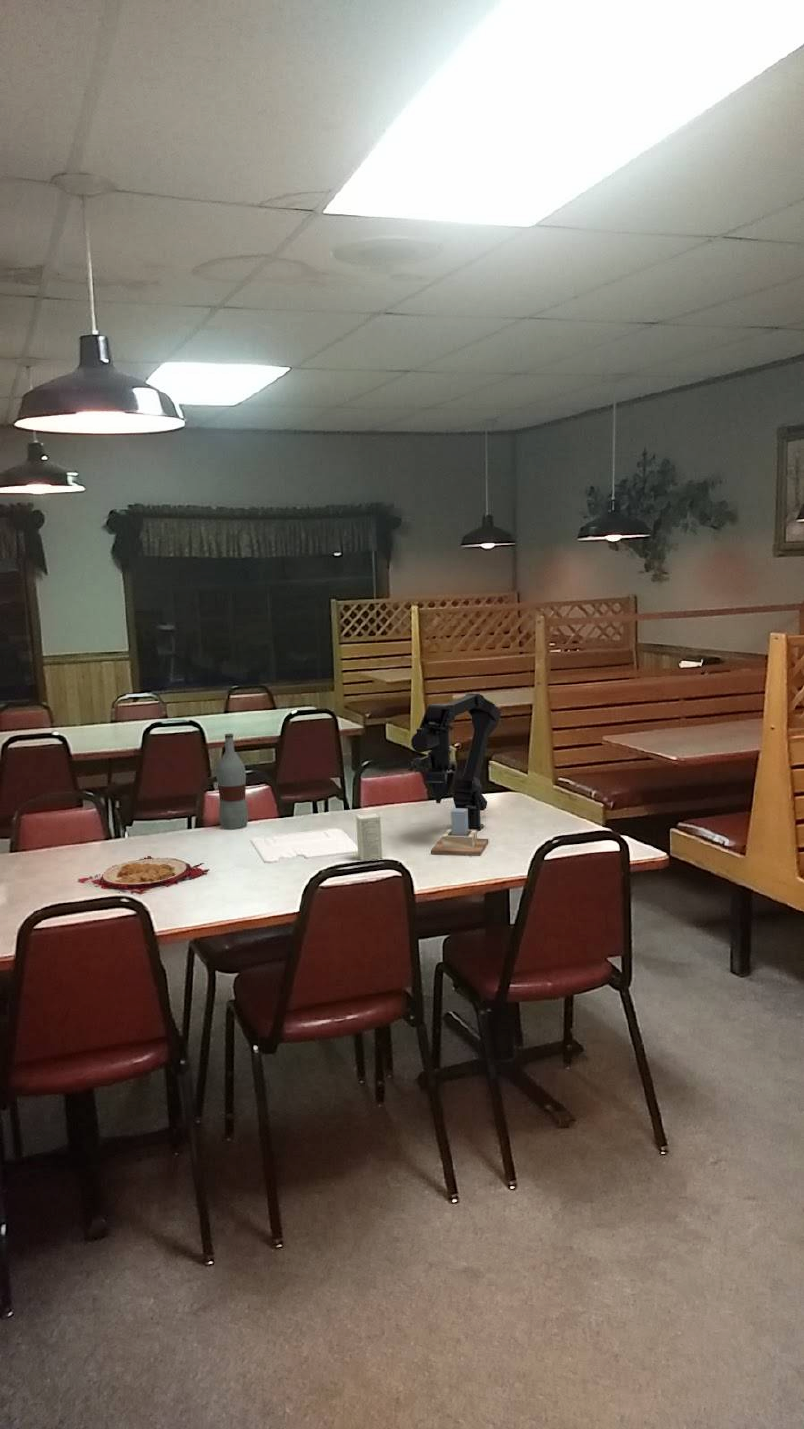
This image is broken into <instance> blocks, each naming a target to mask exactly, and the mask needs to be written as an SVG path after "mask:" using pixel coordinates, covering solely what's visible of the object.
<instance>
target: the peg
mask: <svg viewBox="0 0 804 1429" xmlns="http://www.w3.org/2000/svg"><path fill="white" fill-rule="evenodd" d="M450 814H451V815H450V820H451V821H450V824H451V829H452V836H468V809H464V808H455V807H454V808H453V809H451V811H450Z"/></svg>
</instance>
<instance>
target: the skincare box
mask: <svg viewBox="0 0 804 1429" xmlns="http://www.w3.org/2000/svg"><path fill="white" fill-rule="evenodd" d="M355 819H356V836H357V846H358V853H357V854H358V856H357V858H359V860H360V861H361V862H364V860H366V861H372V859H375V860H379V859H380V860H382V859H383V849H382V848H383V847H382V846H383V844H382V827H381V826H382V824H381V816H380V815H379V814H378V813H368V814H367V813H365V814H357V815H356V816H355ZM381 858H382V859H381Z"/></svg>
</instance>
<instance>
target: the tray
mask: <svg viewBox="0 0 804 1429" xmlns="http://www.w3.org/2000/svg"><path fill="white" fill-rule="evenodd" d="M250 843H251V844H252V846H253V847H254V849H255V850H256V852H257V854H258V855H259V856H260V858H261V860H262V861H263V862H264V863H265V864H279V863H280V860H281V859H289V858H297V857H301V858H302V857H303V858H304V859H306V860H311V859H318V858H319V859H320V858H329V857H337V856H345V855H353V854H358V844H356V843H355V842H354V841H353V839H352V838H350V837H349V836H348V835H347V834H346V833H345V832H344V830H342V829H341V828H326V829H318V830H309V831H308V830H307V831H301V832H292V833H291V832H290V833H282V834H273V835H264V836H255V837H252V838H251V839H250Z"/></svg>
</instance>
